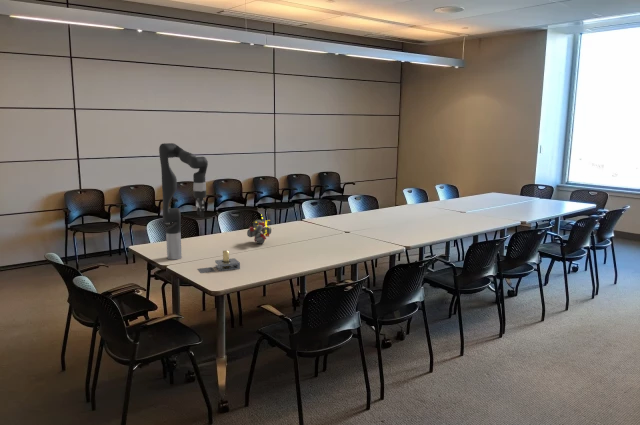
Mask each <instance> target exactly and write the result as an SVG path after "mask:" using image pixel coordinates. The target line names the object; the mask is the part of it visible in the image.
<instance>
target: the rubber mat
mask: <svg viewBox="0 0 640 425" xmlns="http://www.w3.org/2000/svg"><path fill="white" fill-rule="evenodd" d="M196 270H197V271H198V272H199V273H200V274H206V273H214V272H216V270H215V269H214V268H213V267H202V268H197V269H196Z"/></svg>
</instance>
